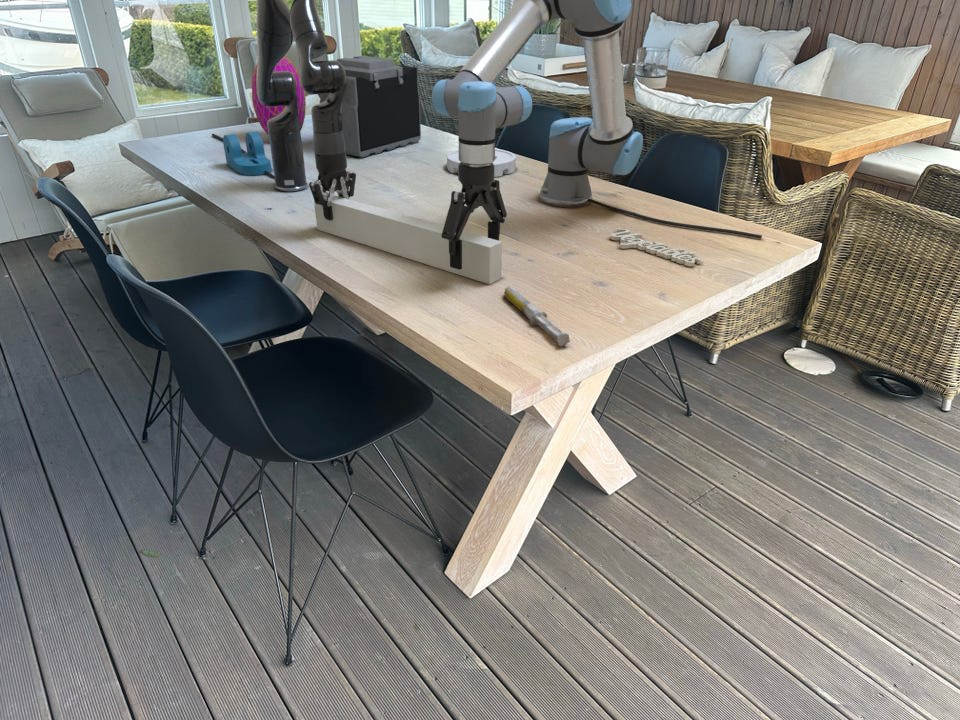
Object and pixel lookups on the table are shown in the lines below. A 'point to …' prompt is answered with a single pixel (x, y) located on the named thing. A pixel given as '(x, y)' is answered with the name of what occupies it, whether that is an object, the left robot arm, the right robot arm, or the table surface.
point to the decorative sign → (653, 247)
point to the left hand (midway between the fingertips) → (336, 216)
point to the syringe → (536, 316)
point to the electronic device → (378, 105)
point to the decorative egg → (270, 112)
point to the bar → (411, 238)
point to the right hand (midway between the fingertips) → (475, 258)
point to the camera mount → (246, 154)
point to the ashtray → (502, 162)
